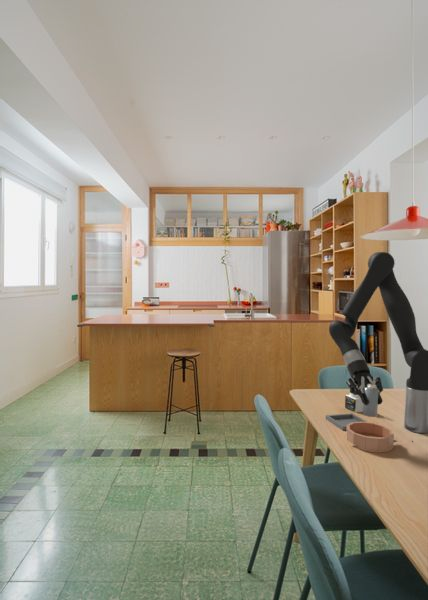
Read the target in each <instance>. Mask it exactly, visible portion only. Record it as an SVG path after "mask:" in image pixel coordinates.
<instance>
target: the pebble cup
mask: <svg viewBox="0 0 428 600" xmlns="http://www.w3.org/2000/svg"><path fill="white" fill-rule="evenodd" d="M378 392H379V388H377V386H375V385H372V384H368V385H367V386H365V387H364V394H366V396H367V399H368V401H369V404H368V405H364V404H363V412H362V415H364V416H366V417H371V418H374V417H375V418H376V417H377V416H378V406H379V405H378Z"/></svg>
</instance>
